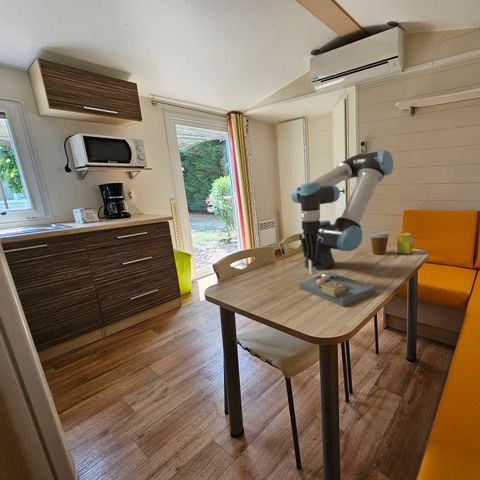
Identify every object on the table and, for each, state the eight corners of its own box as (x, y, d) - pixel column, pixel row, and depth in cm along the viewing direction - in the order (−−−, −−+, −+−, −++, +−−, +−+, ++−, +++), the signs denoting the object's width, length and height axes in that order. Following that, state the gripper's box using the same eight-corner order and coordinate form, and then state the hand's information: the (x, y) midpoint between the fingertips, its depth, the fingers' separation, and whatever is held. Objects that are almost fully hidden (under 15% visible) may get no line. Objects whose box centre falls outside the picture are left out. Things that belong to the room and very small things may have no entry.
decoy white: (327, 277, 113) (327, 269, 112) (332, 275, 114) (332, 267, 114) (333, 279, 110) (333, 271, 109) (339, 277, 111) (339, 269, 111)
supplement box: (400, 251, 149) (400, 232, 146) (412, 252, 144) (413, 233, 142) (396, 253, 145) (397, 234, 143) (409, 255, 140) (409, 235, 138)
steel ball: (319, 281, 109) (319, 273, 109) (325, 279, 111) (325, 271, 110) (325, 283, 106) (325, 275, 106) (331, 281, 108) (331, 273, 107)
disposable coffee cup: (381, 256, 141) (381, 235, 139) (366, 253, 150) (366, 233, 147) (392, 253, 146) (393, 232, 143) (376, 250, 154) (377, 230, 152)
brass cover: (321, 291, 98) (321, 284, 98) (332, 287, 101) (332, 280, 100) (334, 296, 93) (334, 289, 92) (345, 292, 96) (345, 284, 95)
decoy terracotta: (314, 286, 104) (314, 278, 103) (320, 284, 106) (320, 276, 105) (320, 289, 101) (320, 281, 100) (327, 287, 103) (326, 278, 102)
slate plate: (299, 288, 110) (299, 282, 110) (329, 277, 119) (329, 272, 118) (342, 306, 91) (342, 299, 91) (375, 292, 100) (375, 286, 99)
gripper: (293, 220, 114) (296, 272, 119) (315, 222, 103) (317, 279, 107) (306, 218, 117) (308, 268, 122) (329, 219, 106) (330, 275, 111)
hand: (312, 273), depth 115 cm, fingers closed
